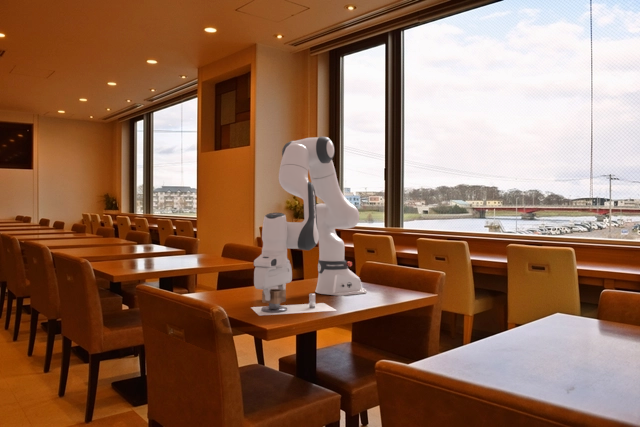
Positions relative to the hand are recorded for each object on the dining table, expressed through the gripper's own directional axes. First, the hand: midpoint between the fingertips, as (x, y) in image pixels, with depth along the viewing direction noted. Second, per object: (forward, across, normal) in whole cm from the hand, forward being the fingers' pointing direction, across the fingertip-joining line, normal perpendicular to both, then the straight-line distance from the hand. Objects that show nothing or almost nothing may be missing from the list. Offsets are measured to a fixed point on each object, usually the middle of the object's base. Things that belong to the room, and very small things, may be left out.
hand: (273, 298), depth 180 cm
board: (+6, -5, +5) cm, 9 cm away
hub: (+4, 0, 0) cm, 4 cm away
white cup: (+6, -19, -10) cm, 23 cm away
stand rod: (+4, -10, +10) cm, 15 cm away
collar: (+1, 0, 0) cm, 1 cm away
